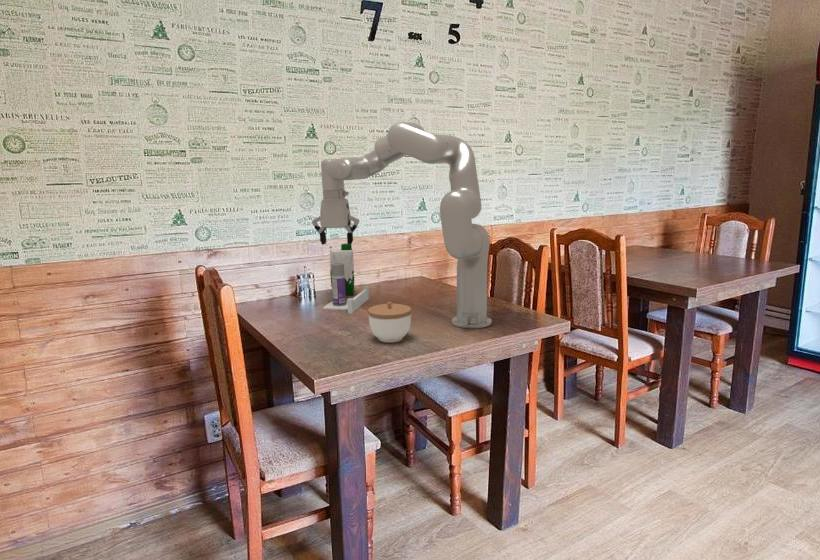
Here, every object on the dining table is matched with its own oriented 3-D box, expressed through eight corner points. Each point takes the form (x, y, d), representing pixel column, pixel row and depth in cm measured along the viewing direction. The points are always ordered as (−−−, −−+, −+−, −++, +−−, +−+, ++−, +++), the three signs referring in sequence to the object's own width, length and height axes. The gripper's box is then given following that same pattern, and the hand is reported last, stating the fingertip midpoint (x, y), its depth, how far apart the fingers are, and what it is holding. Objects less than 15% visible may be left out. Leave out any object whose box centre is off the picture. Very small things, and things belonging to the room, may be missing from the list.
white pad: (347, 310, 195) (347, 308, 195) (323, 309, 197) (322, 307, 197) (354, 303, 204) (354, 302, 204) (331, 303, 206) (331, 301, 206)
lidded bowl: (360, 339, 162) (358, 302, 160) (391, 329, 171) (390, 295, 169) (389, 348, 154) (387, 310, 151) (420, 338, 162) (420, 301, 160)
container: (346, 303, 203) (344, 262, 200) (345, 306, 198) (343, 265, 195) (333, 303, 202) (331, 263, 199) (332, 306, 198) (330, 265, 195)
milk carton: (356, 296, 216) (354, 245, 212) (333, 298, 213) (331, 246, 209) (352, 291, 224) (350, 242, 220) (329, 293, 221) (327, 243, 217)
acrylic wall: (352, 313, 190) (351, 299, 189) (347, 313, 191) (347, 299, 190) (369, 298, 211) (369, 285, 210) (365, 298, 211) (364, 285, 210)
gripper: (360, 194, 194) (363, 242, 197) (314, 195, 198) (317, 242, 201) (354, 195, 187) (357, 245, 190) (306, 196, 190) (309, 245, 194)
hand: (336, 244), depth 196 cm, fingers open, 9 cm apart
